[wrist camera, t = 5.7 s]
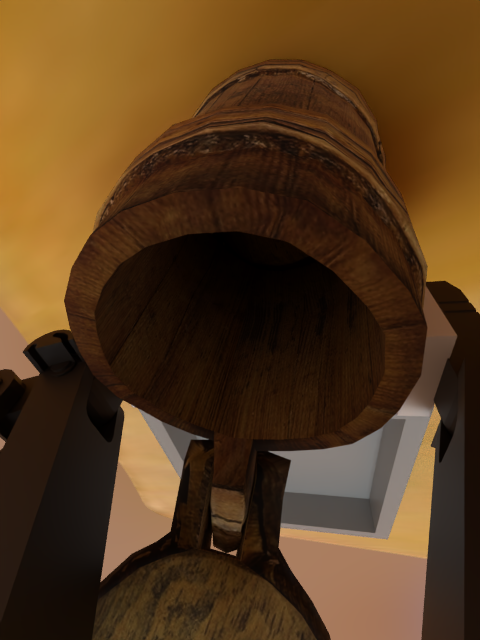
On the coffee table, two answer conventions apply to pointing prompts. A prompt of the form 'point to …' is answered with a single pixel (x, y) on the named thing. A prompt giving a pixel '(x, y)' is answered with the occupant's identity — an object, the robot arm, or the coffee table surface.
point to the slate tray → (334, 477)
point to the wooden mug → (248, 333)
